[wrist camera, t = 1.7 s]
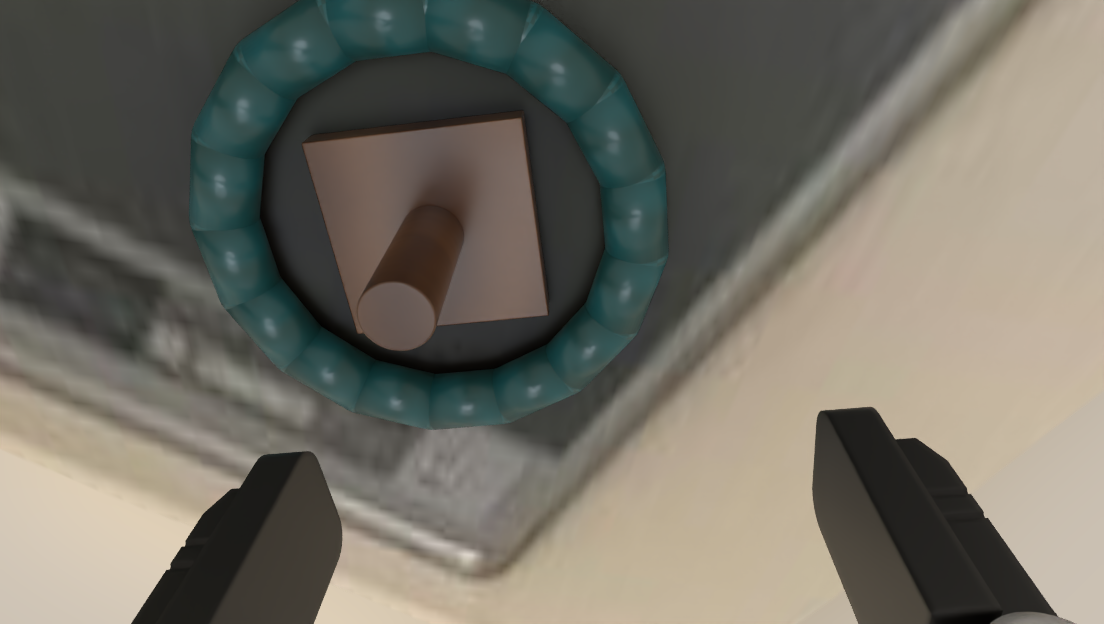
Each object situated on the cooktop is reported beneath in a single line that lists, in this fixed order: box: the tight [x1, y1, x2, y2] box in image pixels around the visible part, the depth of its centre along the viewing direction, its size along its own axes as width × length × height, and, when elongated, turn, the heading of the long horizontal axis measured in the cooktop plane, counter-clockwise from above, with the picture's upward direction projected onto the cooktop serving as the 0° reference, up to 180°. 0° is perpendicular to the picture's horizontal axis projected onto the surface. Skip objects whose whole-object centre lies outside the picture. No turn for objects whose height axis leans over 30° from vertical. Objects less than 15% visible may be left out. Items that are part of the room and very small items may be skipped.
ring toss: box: [302, 110, 549, 351], centre depth 24 cm, size 8×8×8 cm
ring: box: [189, 0, 669, 430], centre depth 26 cm, size 18×18×2 cm
